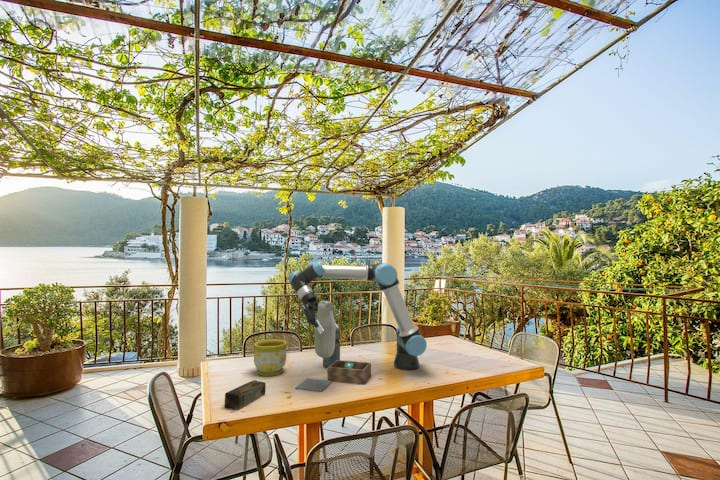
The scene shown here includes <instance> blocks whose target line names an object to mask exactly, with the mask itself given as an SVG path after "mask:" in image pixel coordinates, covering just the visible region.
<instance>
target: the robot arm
mask: <svg viewBox="0 0 720 480" xmlns="http://www.w3.org/2000/svg"><path fill="white" fill-rule="evenodd" d="M316 279H346V280H347V279H349V280H351V279H353V280H364V281H366V282H368V281H369V282H374V283H376V284H377V286H378V288H379V291H381V292H383V293H384V295H385V298H386V301H387V303H388V306H389V308H390V310H391V313H392V315H393V318H394V320H395V322H396V325H397V328H396V332H395V333H396V353H395V357H394V360H393V367H394V368H395V369H399V370H403V371H404V370H406V371H407V370H408V371H409V370H410V371H411V370H412V371H414V370H417V369H419V368H420V361H419V358H418V357H419V356H422V355H424V353H425V351H426V349H427V343H428V342H427V340H426V339H425V337H424V336H423V334H422V333H421V331H420V329H419V326H417V325H415V323H414V321H413V319H412V316H411V314H410V311H409V310H408V307H407V304H406V302H405V300H404V298H403V295H402V292H401V291H400V288H399V284H400V281H399V278H398V272H397V269H396V268H395V266H393V265H392V264H390V263H387V262H383V263H381V262H380V263H371V264H365V265H364V266H363V265H341V264H340V265H336V264H335V265H334V264H333V265H332V264H322V263H321V262H320V261H319V260H317V261H315V262H313V263H312V264H310V265H308V266H307V267H306V268H305V269H304V270H302V271H301V272H300V271H299V270H295V271H292V272H291V273H289V274H288V277H287V280H288V282H289V284H290V285H291V287H292V289H293V290H294V292H295V293H296V295H297V296H298V298H299V300H301V302H302V304H303V305H302V308H301V309H302V310H303V312H304V315H305V317H306V321H307V323H310V325H313V326H314V329H315V328H317V330H318V332H319V333H320V334H321V333H322V332H323V331H324V329H323V328H322V326H321V325H320V323H319V322H318V320H316V312H318V304H319V301H318V299H317V296H316V295H315V293H314V291H313V289H312V288H311V287H310V285H309V284H311V283H312V282H313V281H315V280H316ZM333 315H334V316H335V314H334V313H333ZM335 324H336V329H339V326H338V324H337V323H336V322H335Z"/></svg>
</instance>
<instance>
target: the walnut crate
mask: <svg viewBox="0 0 720 480" xmlns="http://www.w3.org/2000/svg"><path fill="white" fill-rule="evenodd" d="M349 362H350V363H354V369H348V368H344V364H345V363H349ZM326 370H327V379H326V380H328V381H332V383H335V382H336V383H345V384H354V385H366V383H367V382H368V380H369V379H370V378H371V376H372V362H366V361H365V362H363V361H355V360H354V361H351V360H341V359H340V360H336V361H335V362H333V363H332V364H331V365H330V366H328V367H327V368H326Z"/></svg>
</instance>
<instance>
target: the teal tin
mask: <svg viewBox="0 0 720 480" xmlns="http://www.w3.org/2000/svg"><path fill="white" fill-rule="evenodd" d="M344 368H348V369H354V363H350V362H349V363H345V364H344Z"/></svg>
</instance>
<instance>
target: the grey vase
mask: <svg viewBox="0 0 720 480" xmlns="http://www.w3.org/2000/svg"><path fill="white" fill-rule="evenodd" d="M318 302H319V301H318ZM333 307H334V306H333V303H332V302H331V301H330V300H320V302H319V304H318V312H317V311H316V312H317V313H316V316H315V318H316V320H318V322H319V323H320V325H321V326H322V328H323V329H324V331H323V332H322V333H321V334H320V333H319V332H318V330H317V328H315V327H314V344H313V345H314V351H315V354H316V356H318V357H319V358H322V359H323V358H328V357H330V356H332V355H333V353H334V350H335V333H336V324H337V323H336V320H335V314H334V308H333ZM333 314H334V315H333ZM316 320H315V321H316ZM335 323H336V324H335Z"/></svg>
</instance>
